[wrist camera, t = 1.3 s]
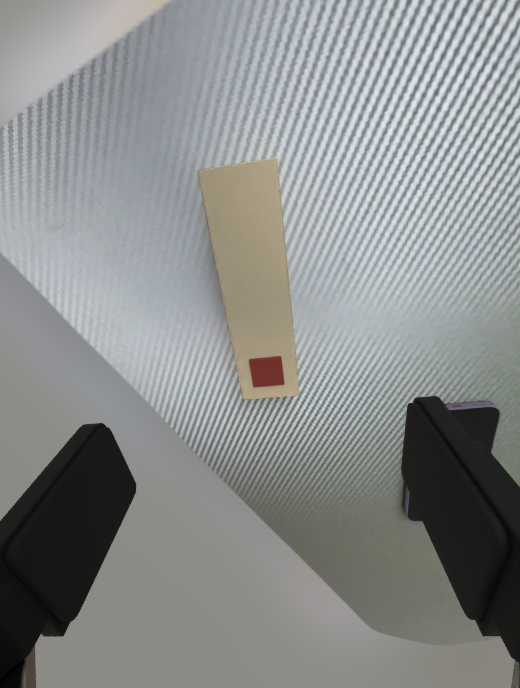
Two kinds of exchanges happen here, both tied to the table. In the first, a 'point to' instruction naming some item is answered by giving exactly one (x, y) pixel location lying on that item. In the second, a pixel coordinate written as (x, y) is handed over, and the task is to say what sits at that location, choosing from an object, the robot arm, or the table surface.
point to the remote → (253, 273)
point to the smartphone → (478, 424)
